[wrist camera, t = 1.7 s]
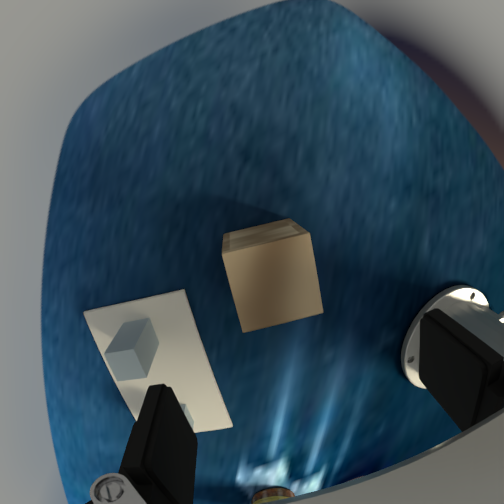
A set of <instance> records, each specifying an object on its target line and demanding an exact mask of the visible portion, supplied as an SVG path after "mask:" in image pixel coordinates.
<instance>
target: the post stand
mask: <svg viewBox="0 0 504 504" xmlns="http://www.w3.org/2000/svg"><path fill="white" fill-rule="evenodd" d="M83 314H84V316H85V319H86V321H87V324H88V326H89V328H90V331H91V333H92V335H93V337H94V340H95V342H96V344H97V346H98V349H99V351H100V353H101V355H102V357H103V359H104V361H105V363H106V365H107V367H108V370H109V372H110V374H111V376H112V378H113V379H114V381H115V383H116V385H117V387H118V389H119V391H120V393H121V395H122V397H123V398H124V400H125V402H126V404H127V406H128V407H129V409H130V411H131V413H132V414H133V416H134V418H135V420H136V421H137V419H138V416H139V413H140V410H141V407H142V404H143V401H144V398H145V395H146V392H147V389H148V387H149V386H150V385H157V384H163V383H164V384H165V385H166V386H167V387H169V386H170V387H171V388H172V389H173V391H174V393H175V396H176V398H177V400H178V402H179V404H180V406H181V408H182V410H183V412H184V414H185V416H186V418H187V420H188V422H189V424H190V425H191V427H192V429H193V431H194V433H196V432H203V431H210V430H217V429H223V428H229V427H233V424H232V422H231V419H230V417H229V414H228V411H227V409H226V406H225V404H224V401H223V399H222V396H221V393H220V391H219V388H218V385H217V383H216V380H215V377H214V375H213V372H212V369H211V366H210V364H209V361H208V358H207V355H206V352H205V349H204V347H203V344H202V341H201V338H200V335H199V332H198V329H197V326H196V323H195V320H194V317H193V314H192V311H191V308H190V305H189V302H188V298H187V295H186V292H185V289H182V290H177V291H173V292H169V293H164V294H160V295H155V296H151V297H147V298H142V299H138V300H133V301H128V302H124V303H119V304H115V305H110V306H106V307H101V308H96V309H92V310H87V311H84V312H83Z"/></svg>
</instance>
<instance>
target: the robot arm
mask: <svg viewBox="0 0 504 504" xmlns="http://www.w3.org/2000/svg"><path fill="white" fill-rule="evenodd" d="M401 365H402V369H403V372H404V374H405V376H406V377H407V378H408V380H409V381H410V382H411V383H412V384H413V385H415V386H417V387H419V388H424V389H428V391H429V392H430V393H431V394H432V395H433V397H434V398H435V399H436V400H437V401H438V403H439V404H440V405H441V406H442V407H443V409H444V410H445V411H446V412H447V413H448V415H449V416H450V417H451V418H452V420H453V421H454V422H455V423H456V425H457V426H458V427H459V428H460V429H461V431H462V433H460V434H458V435H456V436H454V437H452V438H451V439H449V440H447V441H445V442H443V443H441V444H439V445H437V446H435V447H433V448H431V449H429V450H427V451H425V452H423V453H420V454H418V455H416V456H414V457H412V458H409V459H407V460H405V461H402V462H400V463H398V464H395V465H393V466H390V467H388V468H385V469H383V470H380V471H377V472H375V473H372V474H369V475H367V476H364V477H361V478H358V479H355V480H352V481H349V482H346V483H343V484H339V485H336V486H333V487H329V488H326V489H322V490H318V491H315V492H311V493H307V494H303V495H299V496H294V497H290V498H285V499H281V500H276V501H270V502H265V503H259V504H504V311H503V312H501V313H500V314H499V315H498V314H497V313H495V312H493V311H492V310H490V309H489V304H488V302H487V300H486V298H485V296H484V295H483V294H482V293H481V292H480V291H478V290H477V289H475V288H473V287H471V286H467V285H457V286H453V287H450V288H448V289H445V290H444V291H442V292H440V293H439V294H437V295H436V296H435V297H433V298H432V299H431V300H430V301H429V302H428V303H427V304H426V305H425V306H424V307H423V308H422V309H421V310H420V312H419V313H418V315H417V316H416V317H415V319H414V320H413V322H412V324H411V326H410V328H409V329H408V331H407V334H406V337H405V339H404V342H403V346H402V350H401ZM197 444H198V443H197V438H196V435H195V433H194V431H193V429H192V427H191V425H190V424H189V422H188V420H187V418H186V416H185V414H184V412H183V410H182V408H181V406H180V404H179V402H178V400H177V398H176V396H175V393H174V391H173V389H172V388H171V387H170V386H169V387H167V386H166V385H165V384H164V383H163V384H157V385H150V386H149V387H148V389H147V392H146V395H145V398H144V401H143V404H142V407H141V410H140V413H139V416H138V419H137V421H136V422H135V423H134V425H133V428H132V431H131V434H130V437H129V440H128V443H127V446H126V450H125V453H124V456H123V459H122V462H121V466H120V469H119V472H118V473H109V474H105V475H103V476H101V477H99V478H98V479H96V481H95V482H94V483H93V484H92V486H91V488H90V497H91V499H92V500H91V501H89V502H87V503H86V504H193V494H194V481H195V468H196V456H197Z"/></svg>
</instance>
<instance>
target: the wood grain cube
mask: <svg viewBox="0 0 504 504" xmlns="http://www.w3.org/2000/svg"><path fill="white" fill-rule="evenodd" d="M222 257H223V261H224V265H225V269H226V272H227V276H228V280H229V284H230V287H231V291H232V295H233V299H234V302H235V306H236V310H237V313H238V317H239V320H240V324H241V328H242V331H243V333H245V332H249V331H253V330H257V329H262V328H266V327H270V326H274V325H278V324H282V323H286V322H290V321H294V320H298V319H302V318H305V317H309V316H313V315H317V314H320V313H323V307H322V300H321V294H320V288H319V282H318V276H317V270H316V265H315V259H314V253H313V248H312V243H311V237H310V233H309V232H308V231H306V230H305V229H304V228H302V227H301V226H299V225H298V224H297V223H295V222H294V221H293V220H291V219H290V218H288V219H284V220H280V221H275V222H271V223H267V224H263V225H258V226H254V227H250V228H246V229H242V230H238V231H233V232H229V233H225V234H223V245H222Z"/></svg>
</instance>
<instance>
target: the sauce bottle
mask: <svg viewBox="0 0 504 504" xmlns="http://www.w3.org/2000/svg"><path fill="white" fill-rule="evenodd" d="M290 497H294V493H293V492H292V491H290V490H288V489H285V488H271V489H265V490H263V491H260V492H258V493H256V494H255V495H254V496H253V498H252V501H251V503H252V504H259V503H265V502H270V501H276V500H281V499H285V498H290Z"/></svg>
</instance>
